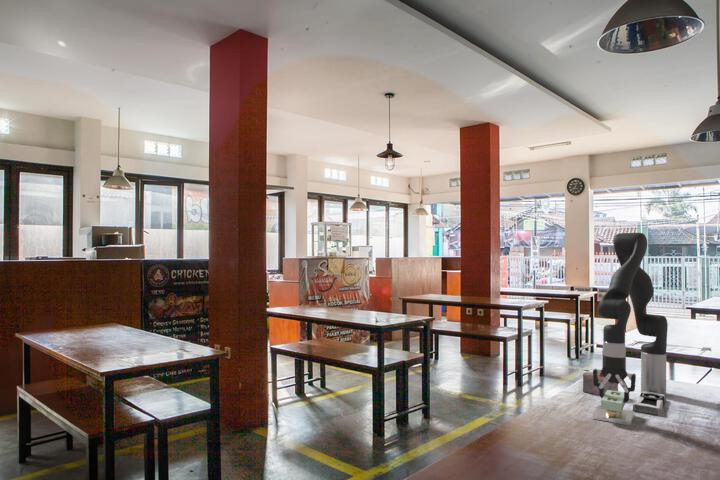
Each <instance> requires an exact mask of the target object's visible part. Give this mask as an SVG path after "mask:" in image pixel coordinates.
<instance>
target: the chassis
mask: <svg viewBox="0 0 720 480" xmlns="http://www.w3.org/2000/svg"><path fill="white" fill-rule="evenodd" d="M614 395H617V394H616V393H615V394H614ZM610 401H614V400H613V399H611V400H610ZM635 416H636V415H635V411H633V410H628V409H623V410H622V412H617V411H611V410H605V409H601V405H597V407H596V408H595V410H594V412H593V414H592V419H593V420H598V421H603V422H609V423H612V424H613V423H614V424H620V425H624V426H632V425H633V420H634V419H635Z"/></svg>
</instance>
